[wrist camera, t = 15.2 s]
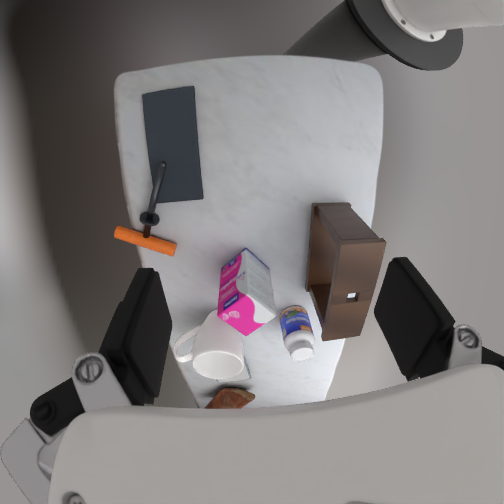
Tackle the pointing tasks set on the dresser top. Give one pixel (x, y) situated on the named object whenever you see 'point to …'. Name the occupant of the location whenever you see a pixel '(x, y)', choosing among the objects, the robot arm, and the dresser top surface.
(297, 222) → the dresser top surface
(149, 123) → the mat
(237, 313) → the supplement box
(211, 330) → the mug
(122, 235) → the T-handle
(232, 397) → the reddish-brown rock
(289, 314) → the pill bottle
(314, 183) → the dresser top surface
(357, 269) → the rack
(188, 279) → the dresser top surface
